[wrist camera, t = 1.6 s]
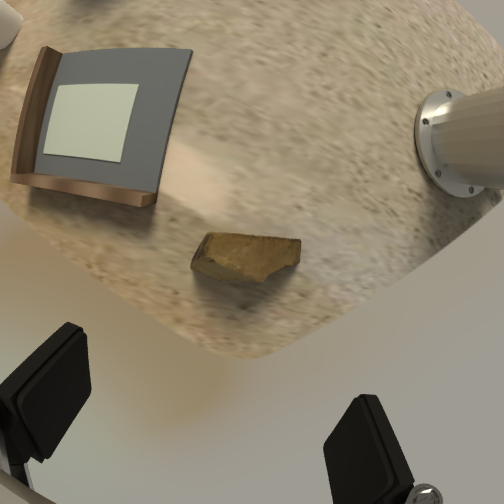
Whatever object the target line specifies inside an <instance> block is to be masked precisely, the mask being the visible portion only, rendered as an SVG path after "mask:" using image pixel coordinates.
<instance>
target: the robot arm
mask: <svg viewBox="0 0 504 504" xmlns="http://www.w3.org/2000/svg"><path fill="white" fill-rule="evenodd" d="M415 138H416V145H417V149H418V153H419V157H420V159H421V162H422V164H423V167H424V169H425V170H426V172H427V174H428V176H429V177H430V178H431V180H432V181H433V182H434V184H435V185H437V186H438V187H439V188H440V189H441V190H442V191H444V192H445V193H447V194H449V195H452V196H455V197H461V198H469V197H473V196H475V195H477V194H479V193H480V192H481V191H482V190H483V189H484V188H485V187H488V188H495V189H502V190H504V86H503V87H499V88H495V89H491V90H487V91H483V92H480V93H476V94H472V95H469V96H467V95H466V94H464V93H462V92H460V91H458V90H454V89H441V90H437V91H435V92H433V93H431V94H430V95H428V96H427V97H426V98H425V99H424V101H423V102H422V103H421V105H420V107H419V110H418V112H417V117H416V122H415ZM90 394H91V380H90V371H89V360H88V347H87V335H86V334H85V333H84V331H83V328H82V327H79V326H77V325H75V324H72V323H70V322H67V323H65V324H64V325H63V326H62V327H60V328H59V329H58V330H57V331H56V332H55V333H54V334H53V335H51V336H50V337H49V338H48V339H47V340H46V341H45V342H44V343H43V344H42V345H41V346H39V347H38V348H37V349H36V350H35V351H34V352H33V353H32V354H31V355H30V356H29V357H28V358H27V359H26V360H25V361H24V362H23V363H21V365H20V366H18V368H16V369H15V370H14V371H13V372H12V373H11V374H10V375H9V377H7V378H6V379H5V380H4V381H3V383H1V384H0V504H56V503H54V502H52V501H51V500H49V499H47V498H45V497H43V496H42V495H40V494H38V493H36V492H35V491H34V488H33V484H32V481H31V477H30V473H29V469H28V465H27V462H28V461H29V459H30V457H32V458H34V459H35V460H37V461H39V462H40V463H42V462H43V461H44V459H45V458H46V459H49V458H50V457H51V456H52V454H53V452H54V451H55V449H56V447H57V446H58V444H59V443H60V441H61V439H62V438H63V436H64V435H65V433H66V431H67V430H68V428H69V427H70V425H71V424H72V422H73V420H74V419H75V417H76V416H77V414H78V413H79V411H80V410H81V408H82V407H83V405H84V404H85V402H86V401H87V399H88V398H89V396H90ZM323 451H324V457H325V462H326V466H327V472H328V477H329V483H330V488H331V494H332V498H333V504H443V499H442V495H441V493H440V492H439V490H438V489H437V488H436V487H434V486H432V485H430V484H419V485H416V486H415V487H414V485H413V483H414V482H415V480H414V478H413V475H412V473H411V471H410V468H409V466H408V464H407V461H406V459H405V456H404V454H403V452H402V449H401V447H400V445H399V442H398V440H397V438H396V436H395V434H394V431H393V429H392V427H391V425H390V422H389V420H388V418H387V416H386V414H385V411H384V409H383V407H382V405H381V403H380V401H379V399H378V397H377V396H376V395H369V394H361V395H359V396H358V397H357V398H354V399H353V401H352V402H351V404H350V406H349V407H348V409H347V410H346V412H345V413H344V415H343V416H342V418H341V420H340V421H339V423H338V424H337V425H336V427H335V429H334V430H333V431H332V433H331V434H330V436H329V437H328V438H327V440H326V441H325V443H324V446H323Z"/></svg>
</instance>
